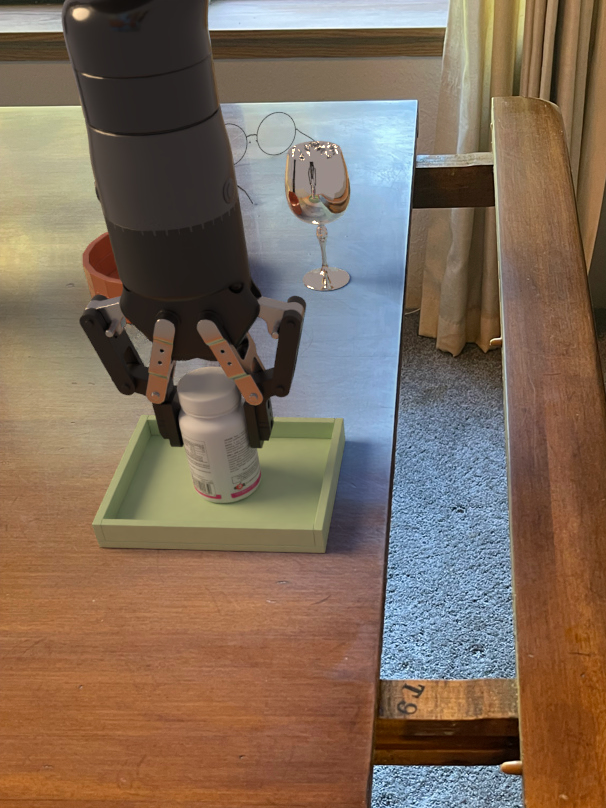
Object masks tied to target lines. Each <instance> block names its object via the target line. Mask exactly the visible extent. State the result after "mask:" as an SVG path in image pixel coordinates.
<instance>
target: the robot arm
mask: <svg viewBox="0 0 606 808" xmlns="http://www.w3.org/2000/svg"><path fill="white" fill-rule="evenodd" d="M209 5H210V0H64V2H63V5H62V8H61V16H60V17H61V26H62V34H63V38H64V44H65V47H66V50H67V54H68V58H69V62H70V63H69V64H70V67H71V72H72V75H73V80H74V83H75V87H76V91H77V95H78V99H79V104H80V107H81V111H82V115H83V118H84V123H85V128H86V134H87V141H88V142H87V143H88V152H89V160H90V165H91V171H92V174H93V179H94V191H95V195H96V198H97V200H98V201H99V203H100V206H101V210H102V214H103V219H104V222H105V226H106V231H107V232H108V234H109V238H110V242H111V246H112V250H113V254H114V258H115V262H116V266H117V270H118V274H119V278H120V280H121V282H122V284H123V291H122V295H121V296H119V297H115V298H111V299H108V298H107V297H105V296H103V295H95V296H93V298H92V297H91V299H90V301H89V302H88V303H87V305H86V307H85V308H84V310H83V313H82V314H81V316H80V317H79V325H80V327H81V328H82V330H83V332H84V334H85V335H86V337H87V339H88V341H89V343H90V344H91V346H92V347H93V349H94V351H95V353H96V354H97V356H98V358H99V360H100V361H101V364H102V365H103V367H104V369H105V370H106V372H107V374H108V375H109V377H110V378H111V380H112V381H111V382H113V385H114V386H115V388H116V389H117V391H118V392H119V393H120V394H122V395H124V396H132V395H134V394H138V395H142V396H145V397H146V399H147V400H148V401H149V402H150V403H151V405H152V408H153V413H154V415H155V417H156V420H157V425H158V429H159V433H160V434H161V436H162V437H163V438H164V439H169V441H170V445H171V447H183V445H184V443H183V439H182V434H181V430H180V426H179V420H178V415H179V412H180V409H181V405H180V402H179V397H178V392H177V385H178V384H174V378H175V373H176V367H177V362H187V361H191V360H197V359H200V360H204V361H208V362H218V364H219V365H220V367H222V369H223V370H224V372H225V374H226V376H227V377H228V378H229V379H230V380H231V379H232V380H234V382H235V384H236V385H237V387H238V389H239V390H240V392H241V394H242V397H243V398H244V399H245V402H244V405H243V407H244V413H245V418H246V424H247V430H248V435H249V441H250V447H251V448H262V447H263V444H264V441H269V438H270V435H271V432H272V428H273V424H274V418H273V417H274V413H273V406H272V400H271V398H272V397H277V398H285V397H287V396H288V395H289V394H290V391H291V388H292V384H293V381H294V376H295V373H296V368H297V362H298V357H299V351H300V346H301V340H302V334H303V333H302V332H303V328H304V323H305V322H304V321H305V316H306V310H307V302H306V300H305V299H304V298H303V297H302V296H299V295H292V296H289V297H288V299H287V301H283V300H279V299H275V298H270V297H266V296H263V294H262V292H261V289H259V286H257V284H256V282H254V279H253V277H252V274H251V267H250V261H249V253H248V246H247V242H246V235H245V227H244V222H243V214H242V208H241V201H240V194H239V187H237V185H238V181H237V175H236V174H237V173H236V166H235V165H234V164H235V161H234V155H233V148H232V145H231V141H230V137H229V132H228V130H227V127H226V126H227V125H225V124H226V123H225V119H224V116H223V111H222V106H221V101H220V96H219V89H218V83H217V82H218V81H217V76H216V70H215V63H214V62H215V61H214V57H213V56H214V55H213V51H212V48H213V47H212V41H211V36H210V30H209V29H210V28H209V7H210V6H209ZM125 317H126V318H127V319H128V320H129V321H130V322H131V323H132V324H131V325H133V326H134V327H135V328H136V329H137V330H138V331H139V332H140V333H141V334H142V335H143V336H144V337H145V338H146V339H148V340H149V341H150V342H151V343H152V345H151V352H150V357H149V365H148V366H146V365H145V364H144V362H143V360H142V358H141V356H140V354H139V352H138V350H137V349H136V347H135V345H134V343H133V341H132V339H131V338H130V336H129V334H128V332H127V330H126V328H125V327H126V325H127V323H126V319H125ZM258 318H259V319H261V320H263V321H264V322H265V324H266V326H267V327H266V328H267V329H266V330H267V333H268V334H269V335H270V336H271V338H272V339H273V340H277V344H276V351H275V357H274V364H273V367H270V368H267V369H266V367H265V365H264V364H263V362H262V360H261V358H260V356H259V355H258V352H257V345H256V343H255V341H254V338H253V337H252V335H251V334H250V332H249V331H250V330H251V328H252V327H253V326H254V324H255V322H256V321H257V319H258Z"/></svg>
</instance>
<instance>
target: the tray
mask: <svg viewBox="0 0 606 808" xmlns="http://www.w3.org/2000/svg"><path fill="white" fill-rule="evenodd" d="M273 418H274V424H273V428H272V432H271V435H270V438H269V441H264V444H263V447H262V448H257V451H258V457H259V463H260V469H261V481H260V484H259V486H258V488H257V489H256V490H255V491H254V492H253V493H252V494H251V495H249V496H248V497H246V498H244V499H241V500H239V501H235V502H229V503H216V502H211V501H208V500H205V499H203V498H202V497H201V496H200V495H199V494H198V493H197V492H196V490H195V487H194V484H193V480H192V476H191V472H190V468H189V464H188V460H187V455H186V451H185V447H184V445H183V447H171V445H170V441H169V439H164V438H163V437H162V436H161V434H160V433H159V429H158V425H157V420H156V417H155V414H141V415H140V417H139V419H138V420H137V423H136V425H135V428H134V429H133V432H132V434H131V437H130V439H129V441H128V443H127V446H126V447H125V450H124V452H123V454H122V456H121V459H120V461H119V463H118V466H117V467H116V470H115V472H114V474H113V476H112V479H111V480H110V483H109V485H108V487H107V489H106V491H105V494H104V496H103V498H102V500H101V502H100V505H99V507H98V510H97V511H96V514H95V516H94V518H93V520H92V523H91V527H92V529H93V532H94V536H95V539H96V541H97V544H98V547H99V548H108V549H109V548H112V549H113V548H115V549H149V550H150V549H152V550H153V549H155V550H188V551H189V550H192V551H225V552H226V551H228V552H234V551H235V552H236V551H237V552H264V553H265V552H268V553H269V552H271V553H304V554H305V553H309V554H310V553H312V554H325V553H326V549H327V546H328V545H327V544H328V540H329V534H330V528H331V522H332V516H333V512H334V505H335V499H336V493H337V489H338V483H339V478H340V471H341V466H342V462H343V455H344V451H345V444H346V431H345V420H344V418H343V417H305V416H304V417H303V416H300V417H299V416H297V417H296V416H293V417H292V416H273Z"/></svg>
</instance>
